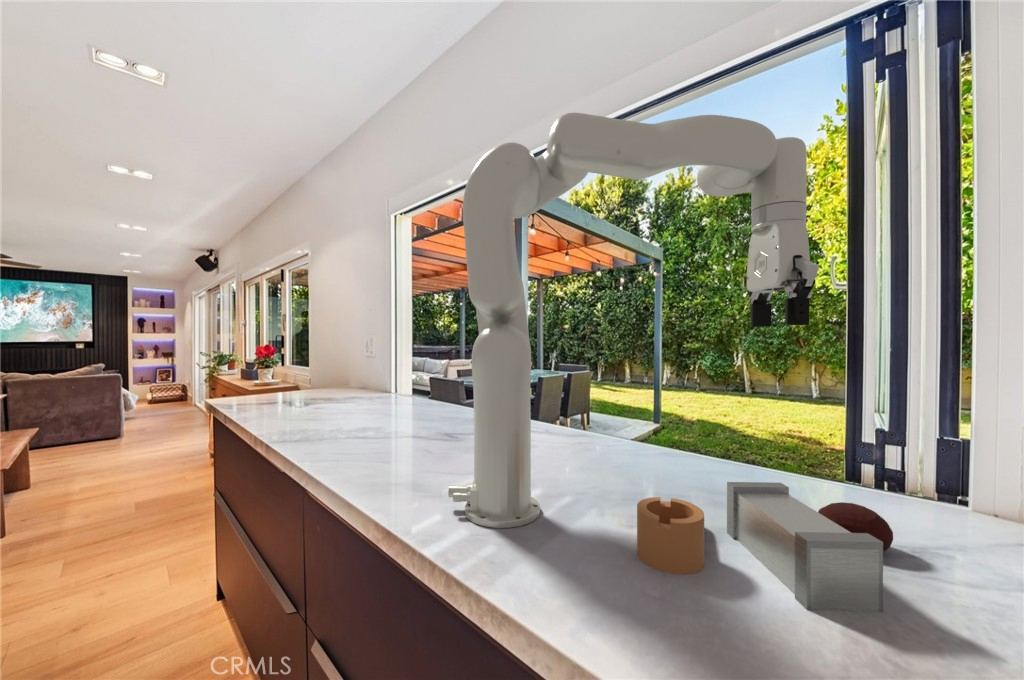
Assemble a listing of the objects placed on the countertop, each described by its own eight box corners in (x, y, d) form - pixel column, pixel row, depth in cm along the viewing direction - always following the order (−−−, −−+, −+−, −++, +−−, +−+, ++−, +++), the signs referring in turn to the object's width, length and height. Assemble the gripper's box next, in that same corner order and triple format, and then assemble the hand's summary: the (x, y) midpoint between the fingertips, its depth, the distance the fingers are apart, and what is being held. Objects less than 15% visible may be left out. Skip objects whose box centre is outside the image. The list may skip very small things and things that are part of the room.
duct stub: (806, 613, 44) (806, 540, 44) (726, 533, 62) (726, 481, 62) (882, 615, 44) (883, 542, 44) (780, 534, 62) (780, 482, 62)
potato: (822, 529, 64) (822, 489, 64) (895, 549, 58) (896, 506, 58) (810, 545, 59) (811, 503, 59) (889, 569, 53) (889, 522, 53)
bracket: (706, 585, 50) (706, 527, 50) (634, 571, 53) (634, 516, 53) (698, 522, 67) (698, 479, 66) (643, 514, 70) (643, 473, 69)
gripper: (728, 234, 76) (728, 327, 76) (787, 203, 59) (786, 324, 59) (770, 233, 76) (770, 327, 76) (841, 202, 59) (841, 324, 59)
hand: (777, 325), depth 67 cm, fingers open, 9 cm apart
